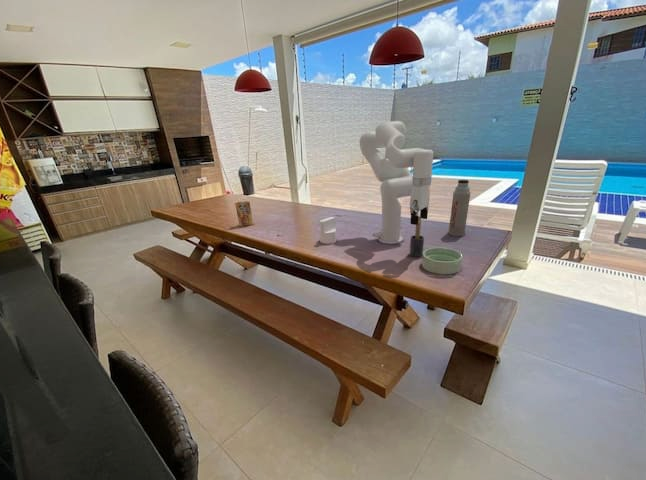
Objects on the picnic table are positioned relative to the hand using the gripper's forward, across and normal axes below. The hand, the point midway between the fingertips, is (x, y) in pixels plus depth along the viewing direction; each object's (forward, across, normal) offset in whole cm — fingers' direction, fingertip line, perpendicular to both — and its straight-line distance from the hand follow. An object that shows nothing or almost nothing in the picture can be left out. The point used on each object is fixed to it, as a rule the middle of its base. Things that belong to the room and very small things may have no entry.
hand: (418, 221), depth 134 cm
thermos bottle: (+17, -38, +5) cm, 42 cm away
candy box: (+16, +10, -114) cm, 115 cm away
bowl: (+17, +6, +13) cm, 22 cm away
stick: (+16, 0, 0) cm, 16 cm away
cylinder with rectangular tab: (+16, +5, -48) cm, 51 cm away
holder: (+17, 0, 0) cm, 17 cm away
